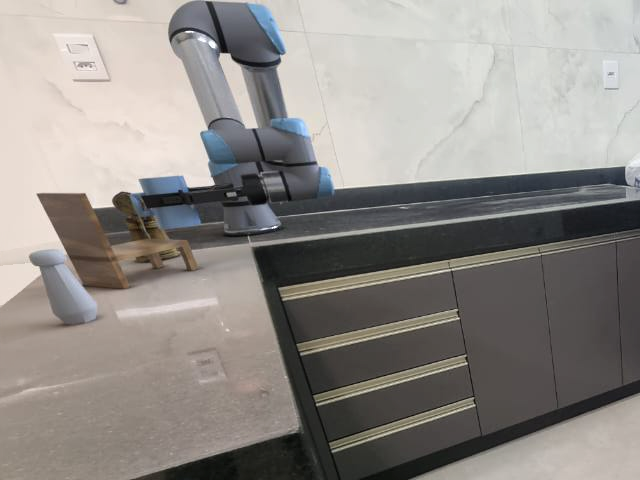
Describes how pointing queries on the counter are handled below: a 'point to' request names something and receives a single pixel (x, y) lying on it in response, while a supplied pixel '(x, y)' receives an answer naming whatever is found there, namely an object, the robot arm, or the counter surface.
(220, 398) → the counter surface
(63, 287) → the salt shaker
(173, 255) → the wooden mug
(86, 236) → the wooden chair
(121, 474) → the counter surface
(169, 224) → the blue cup
